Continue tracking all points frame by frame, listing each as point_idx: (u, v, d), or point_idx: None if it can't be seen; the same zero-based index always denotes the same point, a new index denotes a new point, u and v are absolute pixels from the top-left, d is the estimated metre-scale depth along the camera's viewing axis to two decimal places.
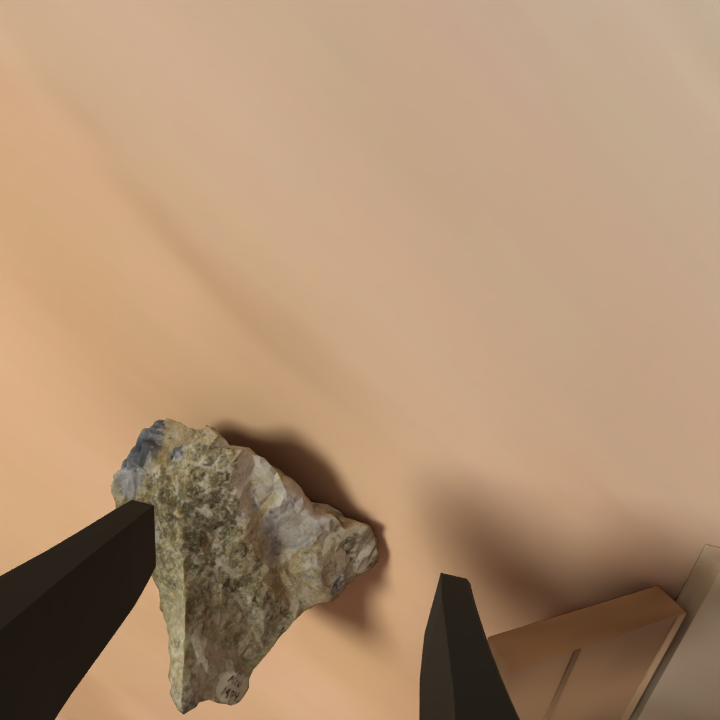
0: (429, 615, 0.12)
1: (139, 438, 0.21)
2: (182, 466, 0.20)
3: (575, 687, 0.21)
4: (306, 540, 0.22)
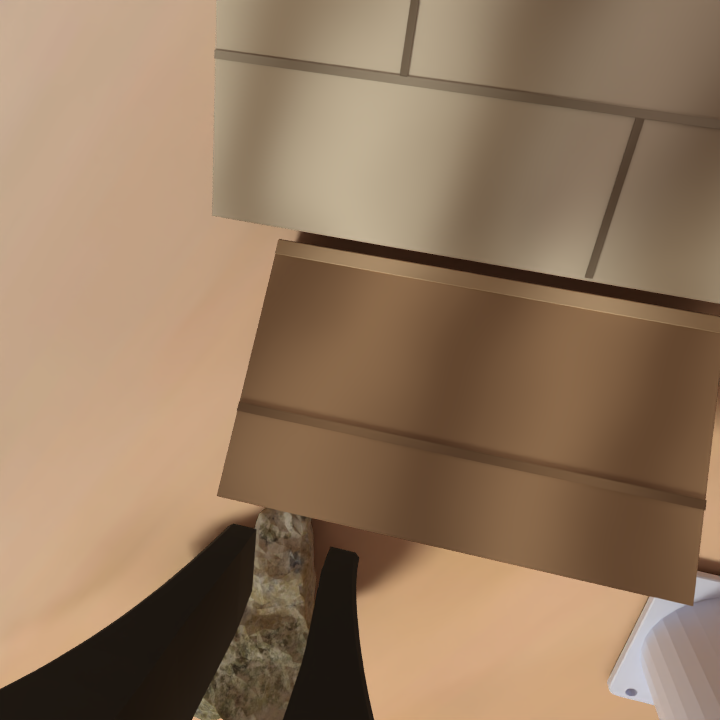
0: None
1: None
2: None
3: (320, 393, 0.17)
4: None
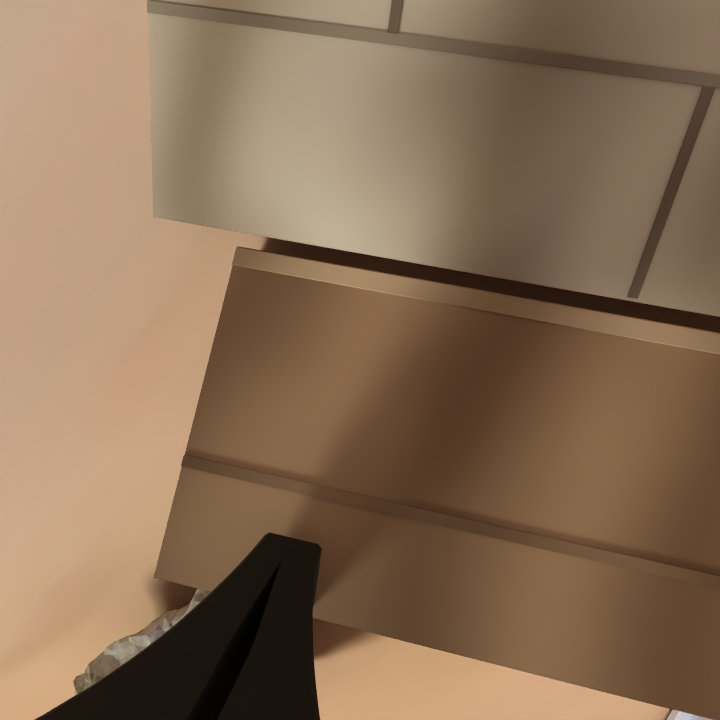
0: None
1: None
2: None
3: (287, 444, 0.14)
4: None
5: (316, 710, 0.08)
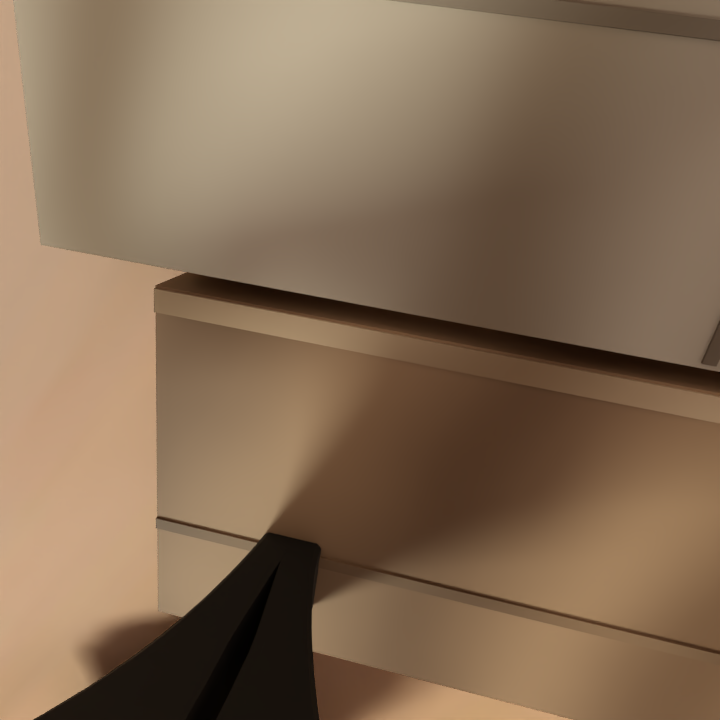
0: None
1: None
2: None
3: (261, 513, 0.12)
4: None
5: (315, 710, 0.08)
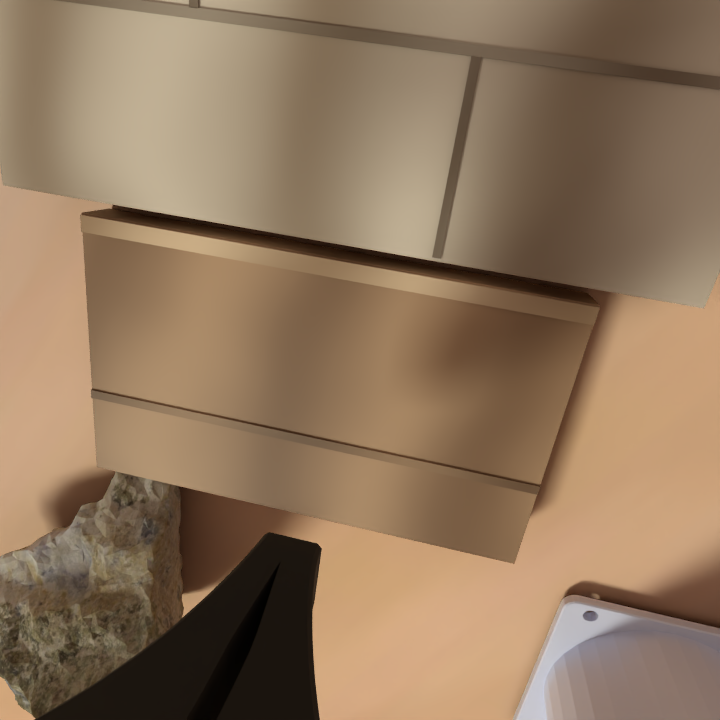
0: None
1: None
2: None
3: (164, 382, 0.17)
4: (85, 548, 0.19)
5: (316, 710, 0.08)
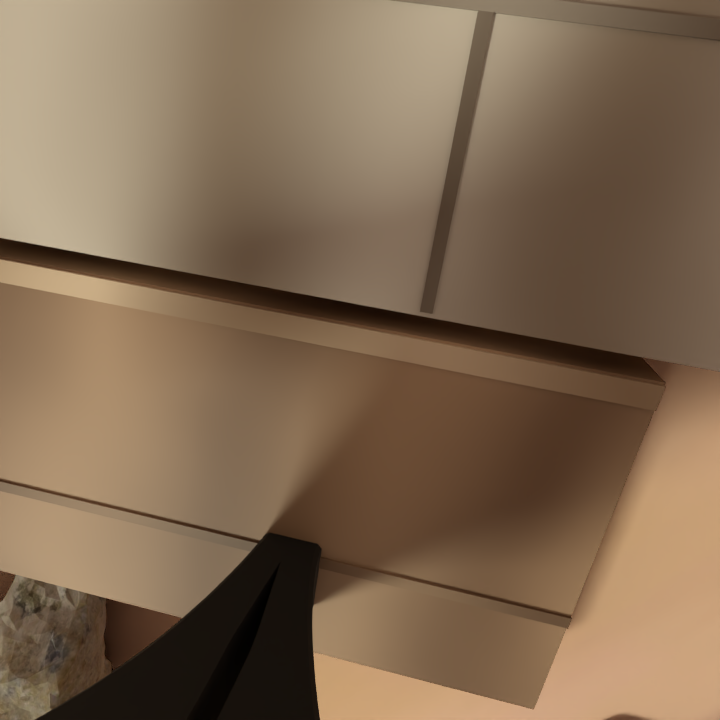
0: None
1: None
2: None
3: (63, 467, 0.13)
4: None
5: (316, 710, 0.08)
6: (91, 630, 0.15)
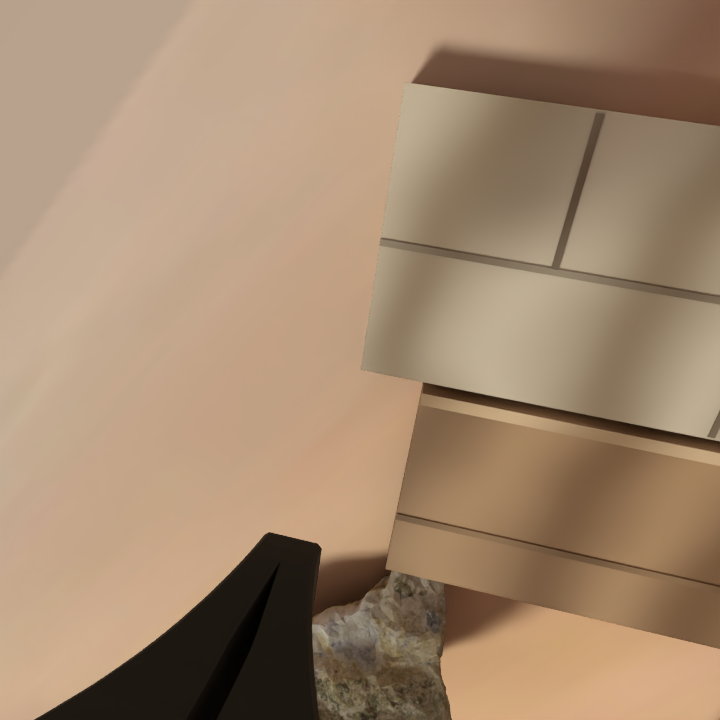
0: None
1: None
2: None
3: (461, 511, 0.22)
4: (373, 628, 0.24)
5: (316, 710, 0.08)
6: None
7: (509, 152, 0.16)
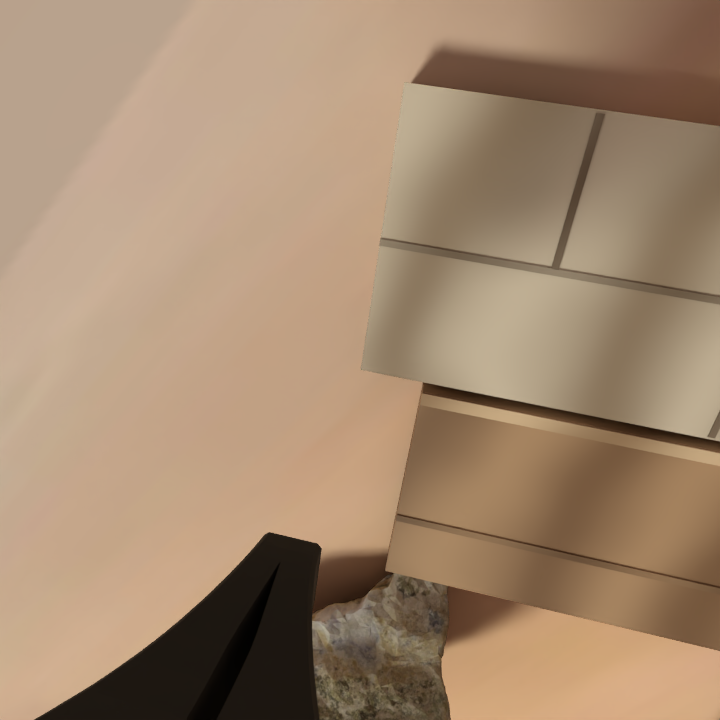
0: None
1: None
2: None
3: (461, 512, 0.22)
4: (374, 627, 0.24)
5: (316, 710, 0.08)
6: None
7: (509, 152, 0.16)
